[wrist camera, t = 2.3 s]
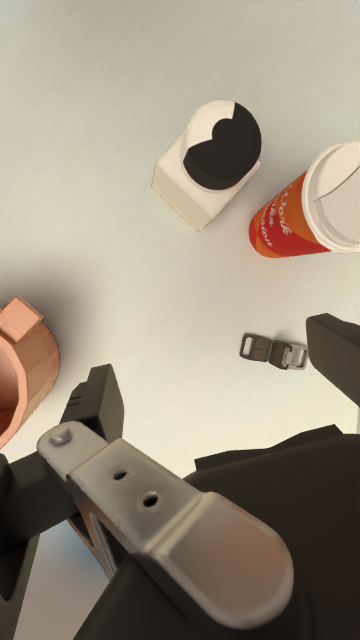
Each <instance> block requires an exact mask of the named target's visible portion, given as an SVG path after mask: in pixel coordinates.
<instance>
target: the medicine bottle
mask: <svg viewBox="0 0 360 640" xmlns="http://www.w3.org/2000/svg"><path fill="white" fill-rule="evenodd" d="M260 152H261V133H260V129H259V127H258V124H257V122H256V120H255V119H254V117H253V116H252V114H251V113H250V112H249V111H248V110H247V109H246V108H244V107H243V106H242V105H240V104H238V103H236V102H233V101H230V100H213V101H210V102H208V103H206V104H204V105H203V106H201V107H200V108H199V109H198V110H197V111H196V112H195V113H194V115H193V116H192V118H191V120H190V122H189V125H188V128H187V129H186V130H185V131H184V132H183V133H182V134H181V135H180V136H179V137H178V139H177V140H176V141H175V142H174V143H173V144H172V145H171V146H170V147H169V148H168V149H167V151H166V152H165V153H164V154H163V155H162V156H161V157H160V158H159V159H158V161H157V164H156V168H155V173H154V177H153V182H152V189H153V190H154V191H155V192H156V193H157V194H158V195H159V196H160V197H161V198H162V199H163V200H164V201H165V202H166V203H167V204H168V205H169V206H170V207H171V208H172V209H173V210H175V211H176V212H177V213H178V214H179V215H180V216H181V217H182V218H183V219H184V220H185V221H186V222H187V223H188V224H189V225H190V226H191V227H192V228H193V229H194V230H195V231H197V232H199V231H200V230H201V229H202V228H204V227H205V226H206V225H207V224H208V223H209V222H210V221H211V220H212V219H214V218H215V217H216V216H217V214H218V213H219V212H220V211H221V210H222V209H223V208H224V207H225V206H226V204H227V203H228V202H229V201H230V200H231V199H232V198H233V197H234V195H235V194H236V193H237V192H238V191H239V190H240V189H241V188H242V186H243V185H244V184H245V183H246V182H247V181H248V180H249V179H250V178H251V176H252V175H253V174H254V173H255V172H256V171H257V170H258V169H259V167H260V166H261V161H260V160H259V159H258V158H259V155H260Z"/></svg>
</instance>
